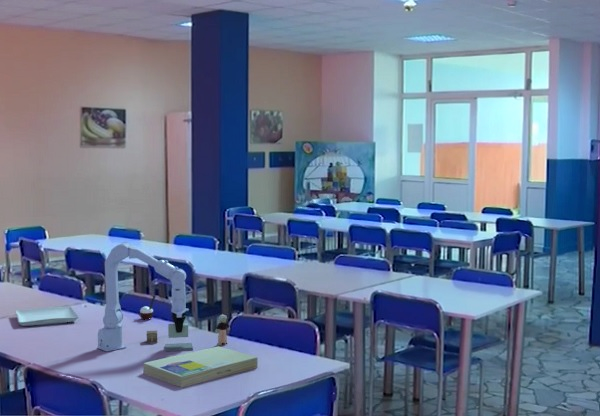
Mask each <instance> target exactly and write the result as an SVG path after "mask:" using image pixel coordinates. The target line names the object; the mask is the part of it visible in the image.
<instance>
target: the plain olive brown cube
mask: <svg viewBox="0 0 600 416" xmlns="http://www.w3.org/2000/svg"><path fill="white" fill-rule="evenodd" d="M157 343H158V330H146V344H157Z"/></svg>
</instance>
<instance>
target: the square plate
mask: <svg viewBox="0 0 600 416" xmlns="http://www.w3.org/2000/svg"><path fill="white" fill-rule="evenodd" d="M14 313H15V316H16V318H17V322H18V324H19V325H20V326H22V327H35V325H37V326H47V325H48V326H49V325H57V324H59V323H60V324H68V323H74V322H76V321H77V320H78V319H79V318H80V315H78V313H77V311H75V309H74V308H73V307H72V306H53V307H51V306H50V307H39V308H29V309H20V310H18V309H17V310H14ZM67 322H68V323H67Z"/></svg>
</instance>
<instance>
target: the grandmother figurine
mask: <svg viewBox="0 0 600 416" xmlns="http://www.w3.org/2000/svg"><path fill="white" fill-rule="evenodd" d="M227 319H228V317H227V315H225V314H220V315H219V317H218V320H219V323H218V325H217V326H216V328H215V330H214V333H215V334H217V333H218V335H217V336H218V337H217V338H218V339H217V346H222V343H223V345H227V344H228V341H227V340H228V338H227V330H228V331H231V327H230V325H229V323H227ZM226 343H227V344H226Z"/></svg>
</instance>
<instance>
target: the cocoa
mask: <svg viewBox="0 0 600 416" xmlns="http://www.w3.org/2000/svg"><path fill="white" fill-rule="evenodd" d="M155 300H156V295H153V296H152V299H151V301H150V305H149V306H145V305H144V306H143V307H141V308H140V309H139V312H138V316H139V317H140V319H141V320H143V319H149V318H151V319H152V318H153V315H154V309H153V305H154V302H155Z"/></svg>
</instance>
